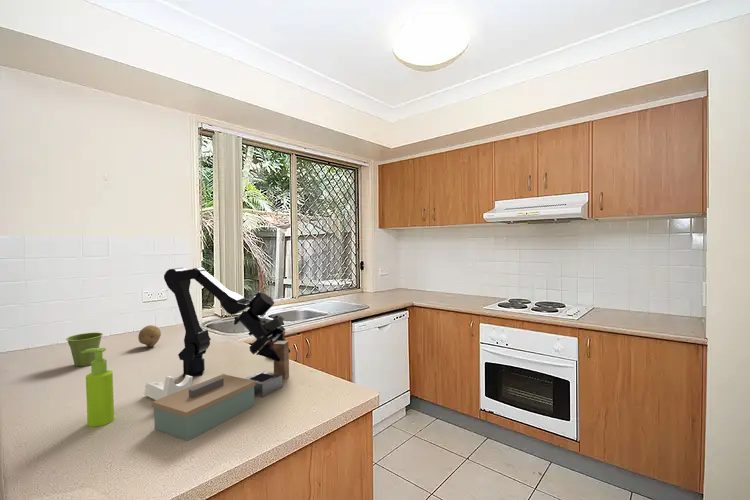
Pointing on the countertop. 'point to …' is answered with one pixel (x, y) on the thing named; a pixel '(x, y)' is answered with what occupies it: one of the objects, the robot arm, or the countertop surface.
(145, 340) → the potato
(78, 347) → the plant pot
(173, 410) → the toolbox
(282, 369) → the walnut key
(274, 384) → the grey shallow box
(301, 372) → the countertop surface
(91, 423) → the soap dispenser
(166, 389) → the bracket
